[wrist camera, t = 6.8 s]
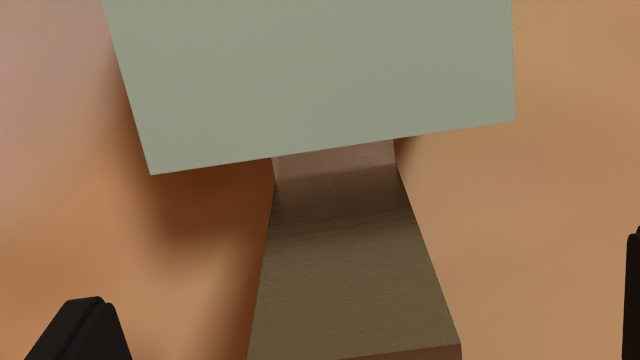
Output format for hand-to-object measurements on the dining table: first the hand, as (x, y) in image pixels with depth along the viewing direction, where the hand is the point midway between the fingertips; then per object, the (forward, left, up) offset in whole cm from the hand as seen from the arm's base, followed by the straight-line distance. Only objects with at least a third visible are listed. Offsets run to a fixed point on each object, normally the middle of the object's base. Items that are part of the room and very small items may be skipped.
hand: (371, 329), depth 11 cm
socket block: (0, -6, -10) cm, 12 cm away
